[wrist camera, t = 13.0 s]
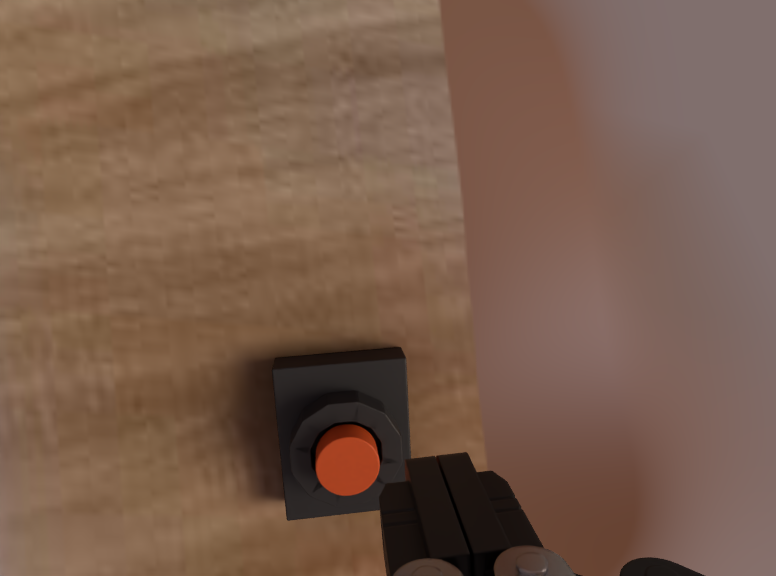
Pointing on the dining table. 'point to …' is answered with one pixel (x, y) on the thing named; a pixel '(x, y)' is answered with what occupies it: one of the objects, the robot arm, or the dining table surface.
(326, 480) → the release button
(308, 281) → the dining table surface
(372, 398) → the button housing
